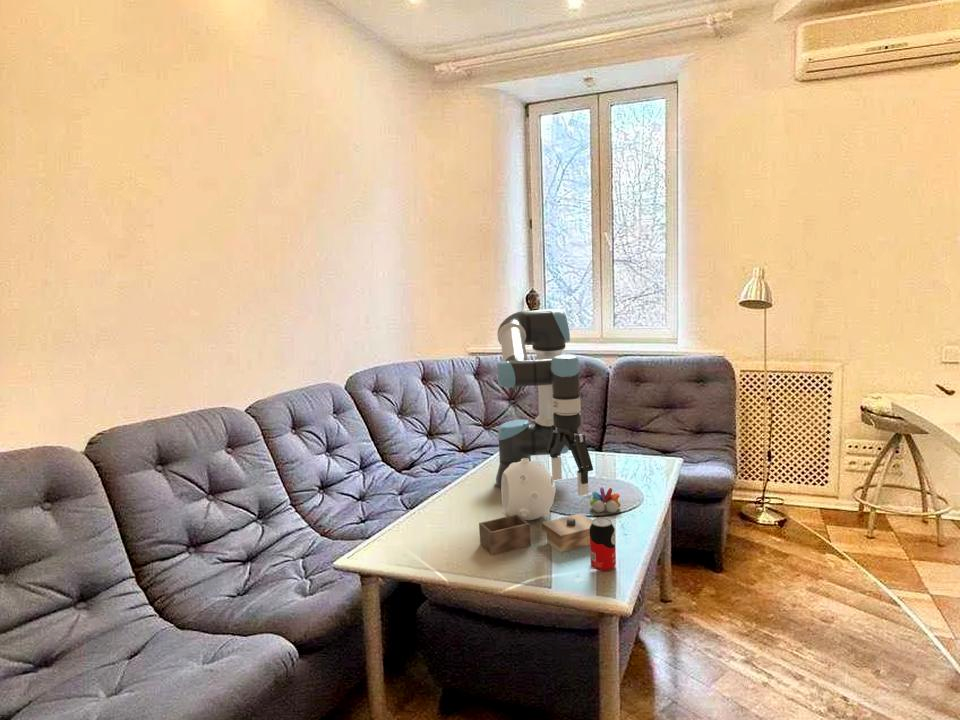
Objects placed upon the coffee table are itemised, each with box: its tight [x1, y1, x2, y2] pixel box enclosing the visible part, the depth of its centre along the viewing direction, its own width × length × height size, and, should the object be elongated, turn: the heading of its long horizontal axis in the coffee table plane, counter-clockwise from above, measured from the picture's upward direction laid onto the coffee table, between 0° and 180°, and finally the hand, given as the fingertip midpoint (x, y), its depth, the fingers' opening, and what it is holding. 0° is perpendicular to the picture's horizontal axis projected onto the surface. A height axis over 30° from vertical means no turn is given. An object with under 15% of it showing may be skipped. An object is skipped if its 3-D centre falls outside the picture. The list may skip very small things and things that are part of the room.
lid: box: [541, 513, 593, 543], centre depth 165 cm, size 13×10×3 cm
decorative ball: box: [500, 458, 556, 521], centre depth 184 cm, size 20×17×20 cm
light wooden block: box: [546, 532, 590, 553], centre depth 166 cm, size 12×7×4 cm, turn 113°
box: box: [478, 515, 532, 556], centre depth 166 cm, size 12×8×7 cm, turn 113°
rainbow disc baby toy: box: [589, 487, 622, 514], centre depth 190 cm, size 8×10×7 cm
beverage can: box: [589, 517, 617, 572], centre depth 152 cm, size 6×6×12 cm
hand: (569, 486), depth 165 cm, fingers open, 13 cm apart
